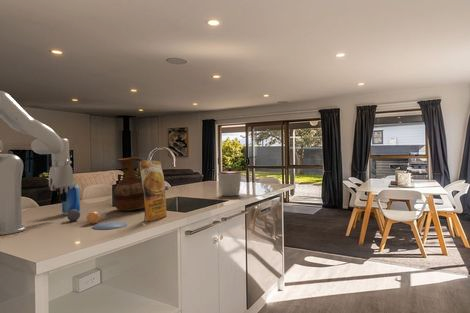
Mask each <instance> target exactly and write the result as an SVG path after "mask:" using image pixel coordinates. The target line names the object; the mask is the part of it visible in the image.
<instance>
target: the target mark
mask: <svg viewBox="0 0 470 313" xmlns="http://www.w3.org/2000/svg"><path fill="white" fill-rule="evenodd" d="M126 226H128V223H127V222H124V221H110V222H101V223H98V224H94V225H93V226H92V227H91V228H92V229H93V230H96V231H98V230H99V231H107V230H108V231H109V230H116V229H121V228H124V227H126Z"/></svg>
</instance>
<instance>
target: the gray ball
mask: <svg viewBox="0 0 470 313" xmlns="http://www.w3.org/2000/svg"><path fill="white" fill-rule="evenodd" d="M66 217H67V219H68V220H69V221H71V222H74V221H75V222H77V221H78V220H79V219H80V217H81V211H78V210H77V209H72V210H70V211H69V212H68V213H67V215H66Z"/></svg>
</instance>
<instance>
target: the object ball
mask: <svg viewBox="0 0 470 313" xmlns="http://www.w3.org/2000/svg"><path fill="white" fill-rule="evenodd" d="M85 219H86V221H87V223H89V224H91V225H92V224H94V225H95V224H96V223H98V222H99V221H100V219H101V215H100V212H98V211H95V210H92V211H90V212H88V213H87V214H86V218H85Z"/></svg>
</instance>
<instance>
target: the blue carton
mask: <svg viewBox="0 0 470 313" xmlns="http://www.w3.org/2000/svg"><path fill="white" fill-rule="evenodd" d="M80 188H81V187H80V185H79V184H78V183H77V182H74V184H73V188H71V189H69V190H68V192H67V199H66V201H64V202H61V213H62V214H63V215H65V216H67V213H68V212H69V211H70V210H72V209H77V210H78V211H79V212H81V191H80V190H81V189H80Z"/></svg>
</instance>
